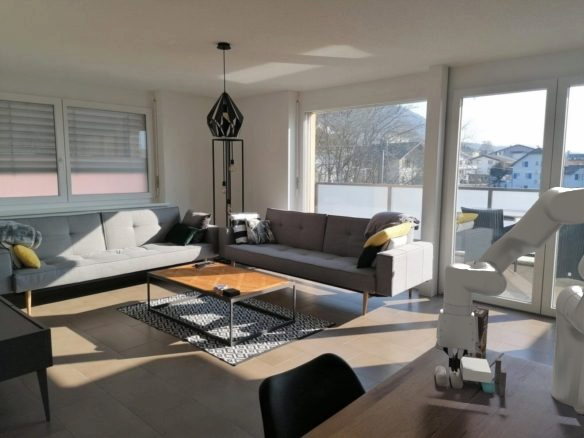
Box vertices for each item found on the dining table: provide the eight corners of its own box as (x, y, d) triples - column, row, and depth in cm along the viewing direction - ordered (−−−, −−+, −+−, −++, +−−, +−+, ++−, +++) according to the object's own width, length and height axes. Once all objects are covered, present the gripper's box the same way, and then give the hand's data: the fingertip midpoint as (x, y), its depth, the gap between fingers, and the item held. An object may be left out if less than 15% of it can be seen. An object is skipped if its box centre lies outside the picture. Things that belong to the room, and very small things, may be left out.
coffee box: (479, 366, 135) (482, 317, 133) (458, 360, 139) (461, 312, 136) (486, 355, 142) (489, 309, 140) (466, 350, 146) (469, 304, 144)
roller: (480, 381, 125) (477, 371, 124) (491, 380, 124) (488, 370, 123) (484, 394, 118) (481, 384, 118) (495, 393, 117) (493, 382, 117)
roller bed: (498, 384, 124) (500, 358, 123) (504, 401, 116) (506, 373, 115) (432, 375, 129) (434, 350, 128) (434, 391, 120) (435, 364, 119)
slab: (485, 369, 124) (486, 359, 124) (490, 383, 117) (491, 372, 116) (460, 366, 126) (460, 356, 126) (463, 379, 118) (463, 369, 118)
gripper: (484, 305, 122) (480, 366, 124) (428, 301, 126) (426, 360, 128) (488, 315, 114) (484, 379, 117) (429, 310, 118) (427, 372, 121)
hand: (454, 369), depth 123 cm, fingers closed
